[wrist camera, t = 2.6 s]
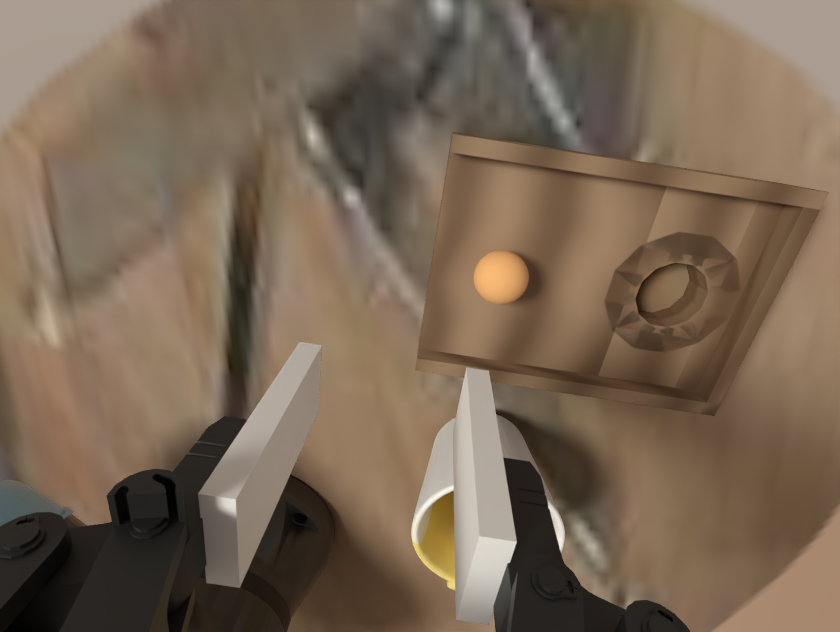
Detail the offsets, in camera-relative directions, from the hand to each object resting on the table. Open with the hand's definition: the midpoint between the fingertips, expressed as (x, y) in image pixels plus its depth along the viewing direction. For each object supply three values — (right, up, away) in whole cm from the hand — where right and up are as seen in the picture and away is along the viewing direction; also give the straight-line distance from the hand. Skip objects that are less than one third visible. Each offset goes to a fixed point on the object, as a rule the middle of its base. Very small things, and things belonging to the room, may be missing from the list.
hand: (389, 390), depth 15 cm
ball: (+6, +5, +13) cm, 16 cm away
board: (+13, +6, +17) cm, 22 cm away
